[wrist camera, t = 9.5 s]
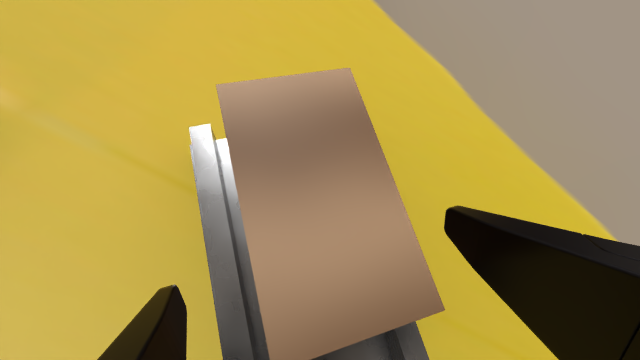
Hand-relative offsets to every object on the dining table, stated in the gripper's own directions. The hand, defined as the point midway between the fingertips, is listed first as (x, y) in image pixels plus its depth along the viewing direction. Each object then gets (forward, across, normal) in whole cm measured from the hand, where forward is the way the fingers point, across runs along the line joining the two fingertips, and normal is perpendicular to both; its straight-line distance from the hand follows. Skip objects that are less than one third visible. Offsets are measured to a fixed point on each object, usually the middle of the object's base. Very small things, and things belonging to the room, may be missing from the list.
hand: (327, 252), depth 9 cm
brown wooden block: (+7, 0, +5) cm, 8 cm away
